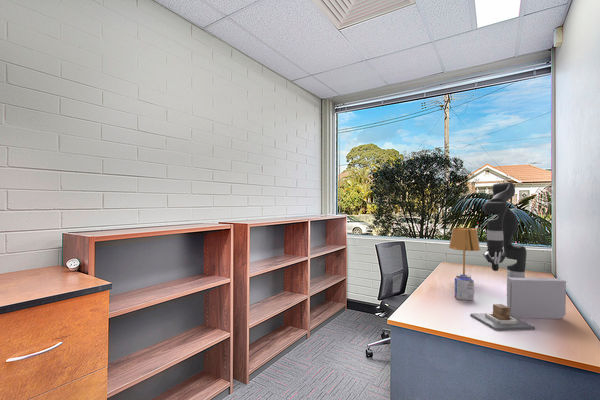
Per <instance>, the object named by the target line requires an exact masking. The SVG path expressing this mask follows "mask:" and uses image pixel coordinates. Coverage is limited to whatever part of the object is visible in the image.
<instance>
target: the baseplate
mask: <svg viewBox="0 0 600 400" xmlns="http://www.w3.org/2000/svg"><path fill="white" fill-rule="evenodd" d="M469 314H470V317H471V318H473V319H475V320H477V321H479V322H480V323H482V324H483V325H486V326H488V328H491V329H492V328H493V329H492V330H494V331H496V330H499V331H519V330H520V331H521V330H522V331H526V330H528V331H530V330H535V329H536V327H535V326H534V325H532V324H530V323H528V322H526V321H524V320H522V319H521V318H515V317H513V316H511V315H510V320H498V319H496V318H495V317H493V312H485V313H483V312H475V313H469Z"/></svg>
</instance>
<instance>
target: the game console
mask: <svg viewBox="0 0 600 400" xmlns="http://www.w3.org/2000/svg"><path fill="white" fill-rule="evenodd" d="M566 287H567V280H565V279H561V278H557V277H555V278H552V277H525V278H510V277H507V276H506V306H507V307H510V315H511V316H513V317H515V318H518V319H552V320H554V319H556V320H557V319H558V320H562V318H563V317H565V315H566V312H567V311H566V308H567V307H566V304H567V303H566V299H567V298H566V297H567V296H566V295H567V294H566V293H567V289H566Z"/></svg>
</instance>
